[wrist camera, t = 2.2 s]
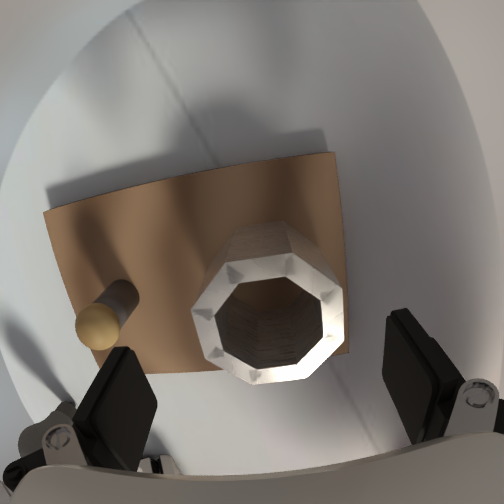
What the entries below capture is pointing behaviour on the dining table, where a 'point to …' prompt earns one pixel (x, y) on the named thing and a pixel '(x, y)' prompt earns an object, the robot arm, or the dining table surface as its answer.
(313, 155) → the keeper base
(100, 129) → the dining table surface
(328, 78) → the dining table surface
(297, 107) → the dining table surface
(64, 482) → the robot arm
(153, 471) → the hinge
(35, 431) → the light bulb
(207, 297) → the white hollow octagonal cylinder
